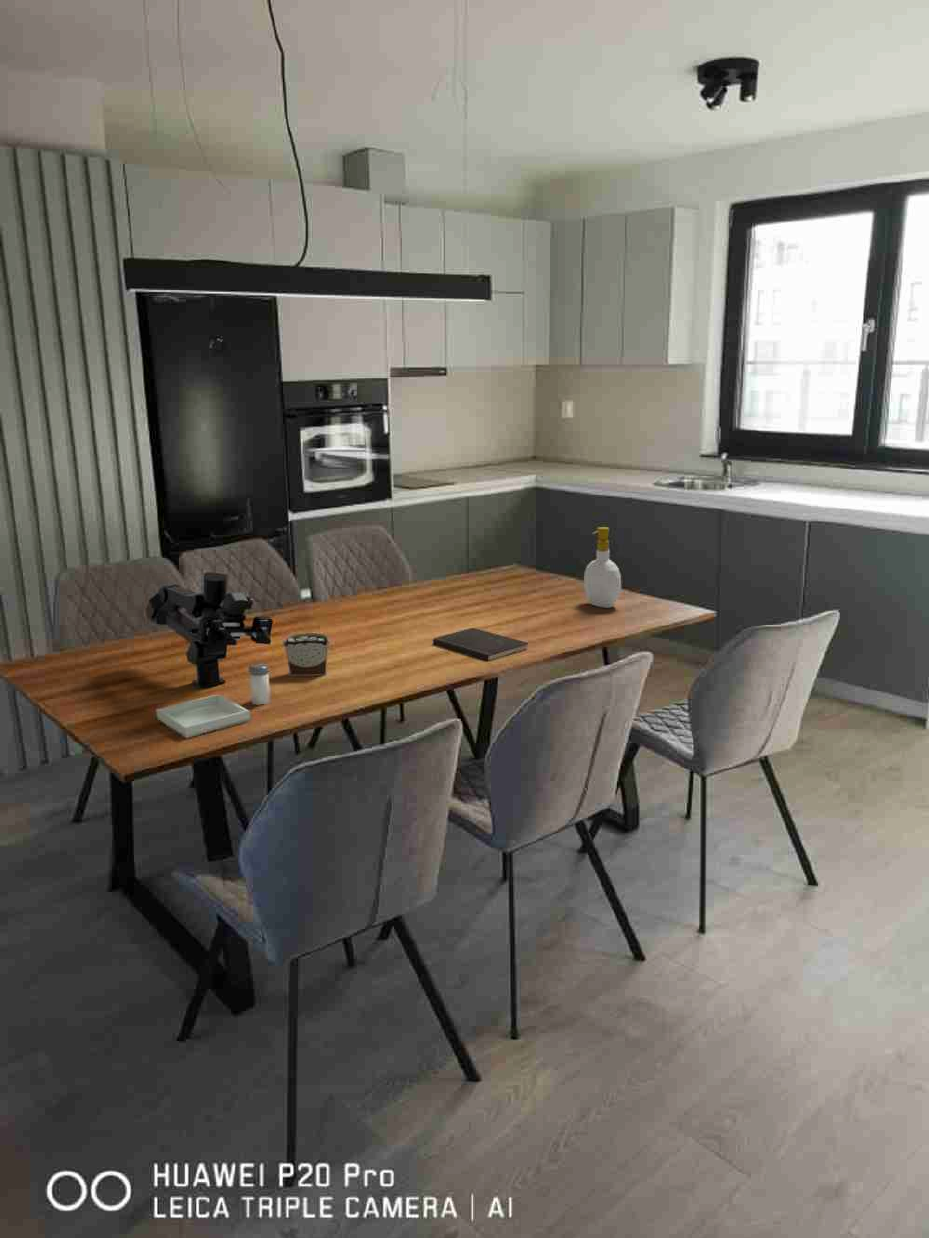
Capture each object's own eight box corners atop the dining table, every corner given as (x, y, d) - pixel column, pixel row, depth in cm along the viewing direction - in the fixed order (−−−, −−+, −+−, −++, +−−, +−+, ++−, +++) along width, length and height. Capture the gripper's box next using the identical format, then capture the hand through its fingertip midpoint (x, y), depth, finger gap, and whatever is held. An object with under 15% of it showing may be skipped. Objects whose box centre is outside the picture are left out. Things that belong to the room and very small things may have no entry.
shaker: (248, 701, 235) (245, 666, 233) (264, 697, 238) (262, 662, 236) (257, 706, 232) (254, 670, 229) (274, 701, 235) (271, 666, 232)
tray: (157, 719, 224) (156, 709, 224) (219, 703, 234) (218, 693, 233) (186, 738, 213) (185, 727, 212) (250, 720, 222) (249, 710, 222)
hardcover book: (473, 635, 290) (473, 627, 289) (528, 650, 273) (528, 642, 273) (432, 646, 279) (432, 638, 279) (487, 663, 263) (487, 655, 262)
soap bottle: (575, 604, 321) (576, 526, 314) (594, 599, 326) (595, 523, 319) (608, 612, 310) (609, 532, 303) (626, 607, 315) (628, 528, 308)
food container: (333, 667, 260) (331, 631, 257) (331, 674, 254) (329, 638, 251) (287, 668, 260) (285, 633, 257) (284, 676, 254) (282, 639, 251)
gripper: (191, 587, 228) (223, 610, 218) (260, 588, 241) (293, 610, 231) (184, 631, 231) (215, 656, 221) (251, 630, 244) (284, 653, 234)
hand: (253, 642), depth 226 cm, fingers open, 9 cm apart
